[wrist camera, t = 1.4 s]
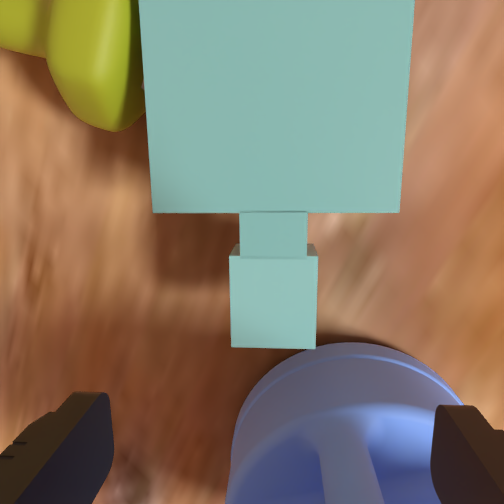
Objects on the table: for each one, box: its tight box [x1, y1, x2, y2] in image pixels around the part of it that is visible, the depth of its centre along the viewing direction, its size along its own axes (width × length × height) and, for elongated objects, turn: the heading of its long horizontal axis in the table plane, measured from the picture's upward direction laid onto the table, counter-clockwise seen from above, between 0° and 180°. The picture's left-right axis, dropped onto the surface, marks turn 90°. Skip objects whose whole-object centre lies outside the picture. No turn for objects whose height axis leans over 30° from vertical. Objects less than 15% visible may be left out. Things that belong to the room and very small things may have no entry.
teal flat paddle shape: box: [139, 0, 415, 349], centre depth 18 cm, size 19×11×3 cm, turn 1°
